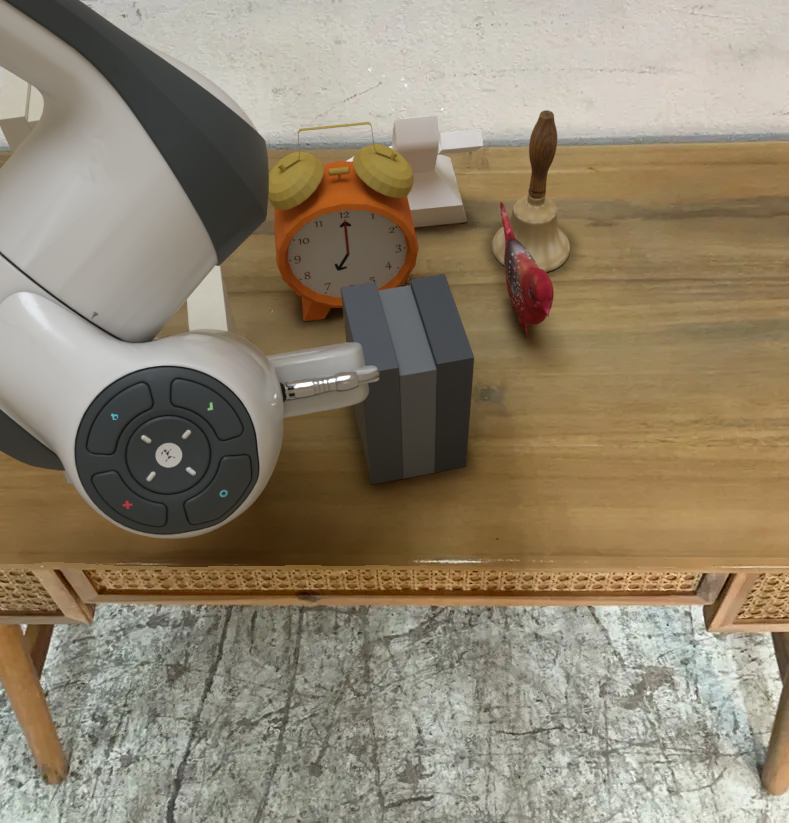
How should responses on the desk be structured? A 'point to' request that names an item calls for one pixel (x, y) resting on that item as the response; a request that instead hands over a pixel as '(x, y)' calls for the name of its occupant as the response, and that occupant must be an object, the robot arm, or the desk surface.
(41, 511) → the desk surface
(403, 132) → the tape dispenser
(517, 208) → the hand bell
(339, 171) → the alarm clock
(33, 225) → the robot arm
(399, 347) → the grey books
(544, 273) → the decorative bird figurine
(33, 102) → the white books
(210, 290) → the white book
